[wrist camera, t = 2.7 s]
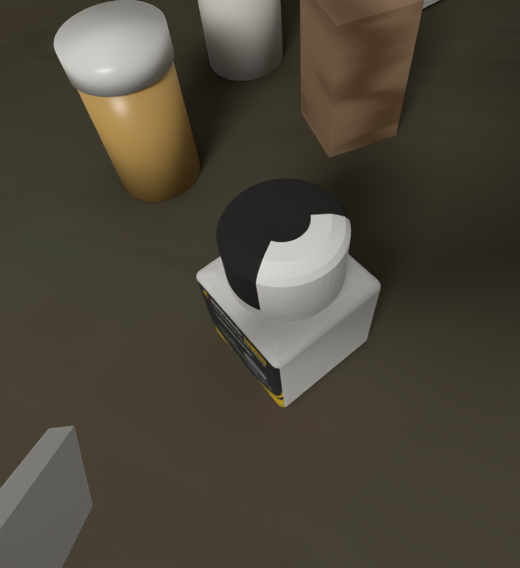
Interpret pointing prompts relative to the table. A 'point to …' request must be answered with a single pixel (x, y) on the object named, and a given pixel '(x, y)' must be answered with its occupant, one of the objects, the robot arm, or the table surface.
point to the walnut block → (355, 68)
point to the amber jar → (132, 95)
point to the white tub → (242, 37)
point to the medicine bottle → (288, 285)
